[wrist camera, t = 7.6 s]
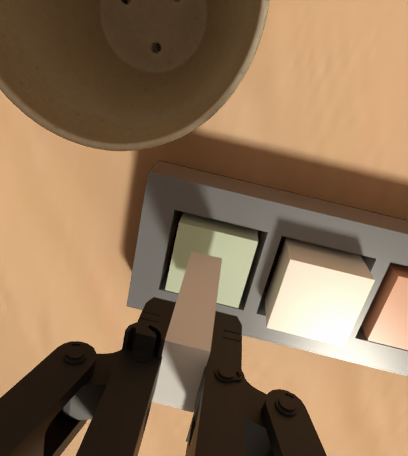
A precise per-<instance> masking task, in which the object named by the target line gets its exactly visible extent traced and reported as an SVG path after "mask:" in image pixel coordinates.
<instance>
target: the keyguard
mask: <svg viewBox="0 0 408 456" xmlns="http://www.w3.org/2000/svg"><path fill="white" fill-rule="evenodd" d="M179 211H182V212H186V213H190V214H194V215H198V216H203V217H207V218H211V219H215V220H219V221H223V222H227V223H231V224H235V225H239V226H244V227H248V228H252V229H256V230H260V231H261V234H260V238H259V241H258V244H257V248H256V251H255V254H254V258H253V261H252V264H251V267H250V271H249V274H248V277H247V281H246V284H245V287H244V290H243V294H242V297H241V300H240V304H239V307H238V308H236V307H231V306H227V305H223V304H219V303H216V311H218V312H222V313H226V314H230V315H234V316H237V317H238V319H239V321H240V322H241V324H242V335H244V336H248V337H252V338H256V339H260V340H264V341H268V342H272V343H276V344H280V345H284V346H288V347H292V348H296V349H300V350H304V351H308V352H312V353H316V354H320V355H324V356H328V357H332V358H336V359H340V360H344V361H349V362H353V363H357V364H361V365H365V366H369V367H373V368H377V369H381V370H385V371H389V372H393V373H397V374H401V375H405V376H408V350H405V349H401V348H397V347H393V346H388V345H384V344H380V343H376V342H372V341H368V340H367V338H366V336H365V333H364V331H363V329H362V327H361V324H362V322H363V320H364V318H365V315H366V313H367V311H368V309H369V307H370V305H371V303H372V300H373V298H374V296H375V294H376V292H377V290H378V288H379V286H380V283H381V281H382V279H383V277H384V275H385V273H386V271H387V269H388V266H389V264H390V262H391V263H395V264H399V265H404V266H408V221H407V220H403V219H398V218H394V217H390V216H386V215H382V214H378V213H374V212H369V211H365V210H361V209H357V208H353V207H349V206H345V205H340V204H336V203H332V202H328V201H324V200H320V199H316V198H311V197H307V196H303V195H299V194H295V193H291V192H287V191H282V190H278V189H274V188H270V187H266V186H262V185H258V184H253V183H249V182H245V181H241V180H237V179H233V178H229V177H224V176H220V175H216V174H212V173H208V172H204V171H200V170H195V169H191V168H187V167H183V166H179V165H175V164H171V163H166V162H162V161H158V162H157V163H156V164H155V165H154V166H153V167H152V168H151V169H150V170H149V171H148V176H147V182H146V188H145V195H144V201H143V207H142V213H141V220H140V226H139V232H138V238H137V245H136V251H135V257H134V263H133V270H132V276H131V282H130V288H129V294H128V301H127V306H128V307H132V308H136V309H140V310H143V308H144V306H145V304H146V302H148V301H149V300H150V299H152V298H153V297H156V298H160V299H164V300H168V301H173V302H176V301H177V298H178V294H179V293H175V292H171V291H167V290H165V288H166V283H167V278H168V273H169V269H167V268H168V263H169V258H170V253H171V248H172V243H173V238H174V233H175V228H176V223H177V218H178V214H179ZM282 236H285V237H289V238H293V239H297V240H301V241H305V242H309V243H313V244H317V245H322V246H326V247H330V248H334V249H338V250H342V251H346V252H350V253H354V254H357V255H359V256H361V257H362V259H363V260H364V262H365V264H366V266H367V267H368V269H369V271H370V272H371V274H372V276H373V277H374V279H375V282H374V284H373V286H372V288H371V290H370V292H369V295H368V297H367V299H366V301H365V303H364V305H363V308H362V310H361V312H360V314H359V316H358V318H357V321H356V323H355V325H354V327H353V329H352V331H351V334H350V336H349V338H348V340H347V342H346V344H345V347H342V346H338V345H334V344H330V343H325V342H321V341H317V340H313V339H309V338H305V337H301V336H297V335H293V334H289V333H285V332H281V331H277V330H273V329H269V328H266V312H265V298H266V295H267V293H264V292H263V291H264V288H265V285H266V282H267V279H268V276H269V273H270V270H271V267H272V264H273V261H274V258H275V255H276V252H277V249H278V246H279V243H280V240H281V237H282Z"/></svg>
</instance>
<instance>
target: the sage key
mask: <svg viewBox="0 0 408 456" xmlns="http://www.w3.org/2000/svg"><path fill="white" fill-rule="evenodd" d="M257 244H258V230H256V229H252V228H248V227H244V226H239V225H235V224H231V223H227V222H223V221H219V220H215V219H211V218H207V217H203V216H198V215H194V214H190V213H186V212H184V213H183V215H182V217H181V219H180V221H179V224H178V229H177V234H176V239H175V244H174V249H173V254H172V259H171V263H170V268H169V273H168V278H167V283H166V288H165V290H167V291H171V292H175V293H179V291H180V288H181V284H182V281H183V278H184V274H185V271H186V268H187V264H188V261H189V258H190V254H191V251H193V252H198V253H202V254H206V255H210V256H214V257H218V258H222V263H221V271H220V279H219V287H218V295H217V303H219V304H223V305H227V306H231V307H236V308H238V307H239V304H240V300H241V297H242V294H243V290H244V287H245V284H246V281H247V277H248V274H249V271H250V267H251V264H252V261H253V257H254V254H255V251H256V248H257Z"/></svg>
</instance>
